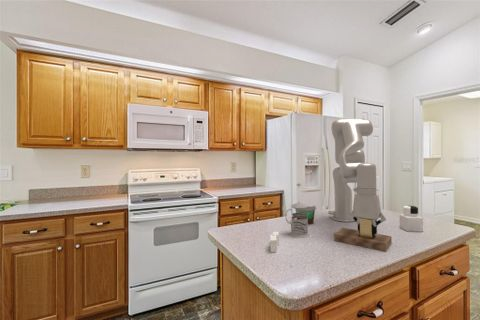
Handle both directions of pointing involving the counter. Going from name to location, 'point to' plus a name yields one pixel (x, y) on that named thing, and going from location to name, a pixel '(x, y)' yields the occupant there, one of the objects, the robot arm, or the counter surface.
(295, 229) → the french press
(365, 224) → the brass peg
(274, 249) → the napkin holder
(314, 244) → the counter surface
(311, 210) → the food container
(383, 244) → the walnut square hole board
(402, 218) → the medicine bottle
